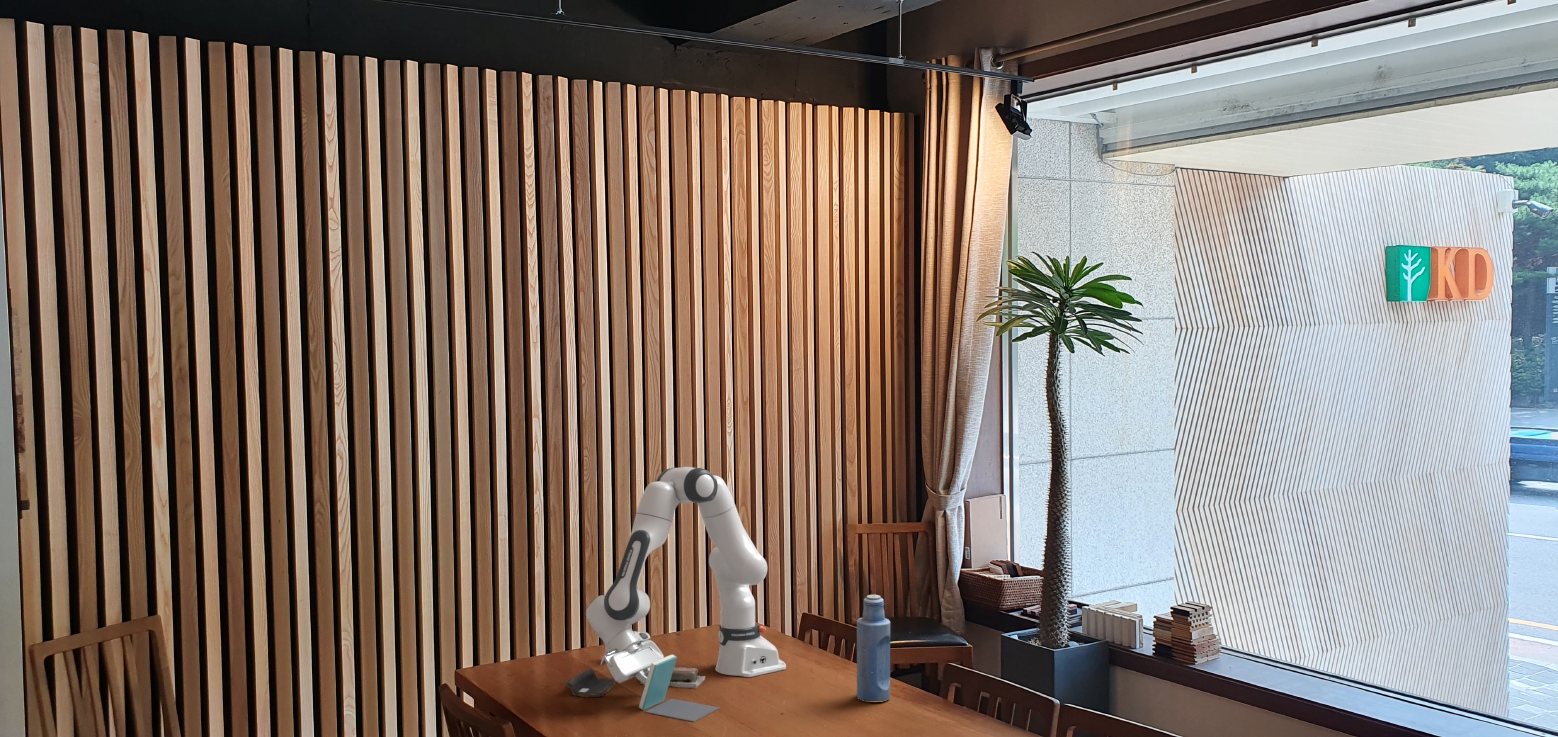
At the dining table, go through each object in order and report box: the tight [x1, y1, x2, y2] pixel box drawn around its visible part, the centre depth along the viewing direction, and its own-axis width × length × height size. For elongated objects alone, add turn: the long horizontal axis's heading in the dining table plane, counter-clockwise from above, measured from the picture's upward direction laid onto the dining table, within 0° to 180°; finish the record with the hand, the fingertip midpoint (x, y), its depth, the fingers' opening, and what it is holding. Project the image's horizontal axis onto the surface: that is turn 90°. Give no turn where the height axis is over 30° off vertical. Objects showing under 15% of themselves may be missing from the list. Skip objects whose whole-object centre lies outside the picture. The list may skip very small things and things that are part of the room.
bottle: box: [856, 594, 891, 701], centre depth 318 cm, size 10×10×30 cm
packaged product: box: [640, 666, 706, 689], centre depth 335 cm, size 18×5×10 cm
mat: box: [644, 698, 721, 723], centre depth 308 cm, size 16×13×1 cm
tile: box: [638, 653, 678, 711], centre depth 312 cm, size 2×10×14 cm, turn 150°
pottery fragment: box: [564, 668, 616, 698], centre depth 327 cm, size 15×12×4 cm
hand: (652, 684), depth 313 cm, fingers closed
